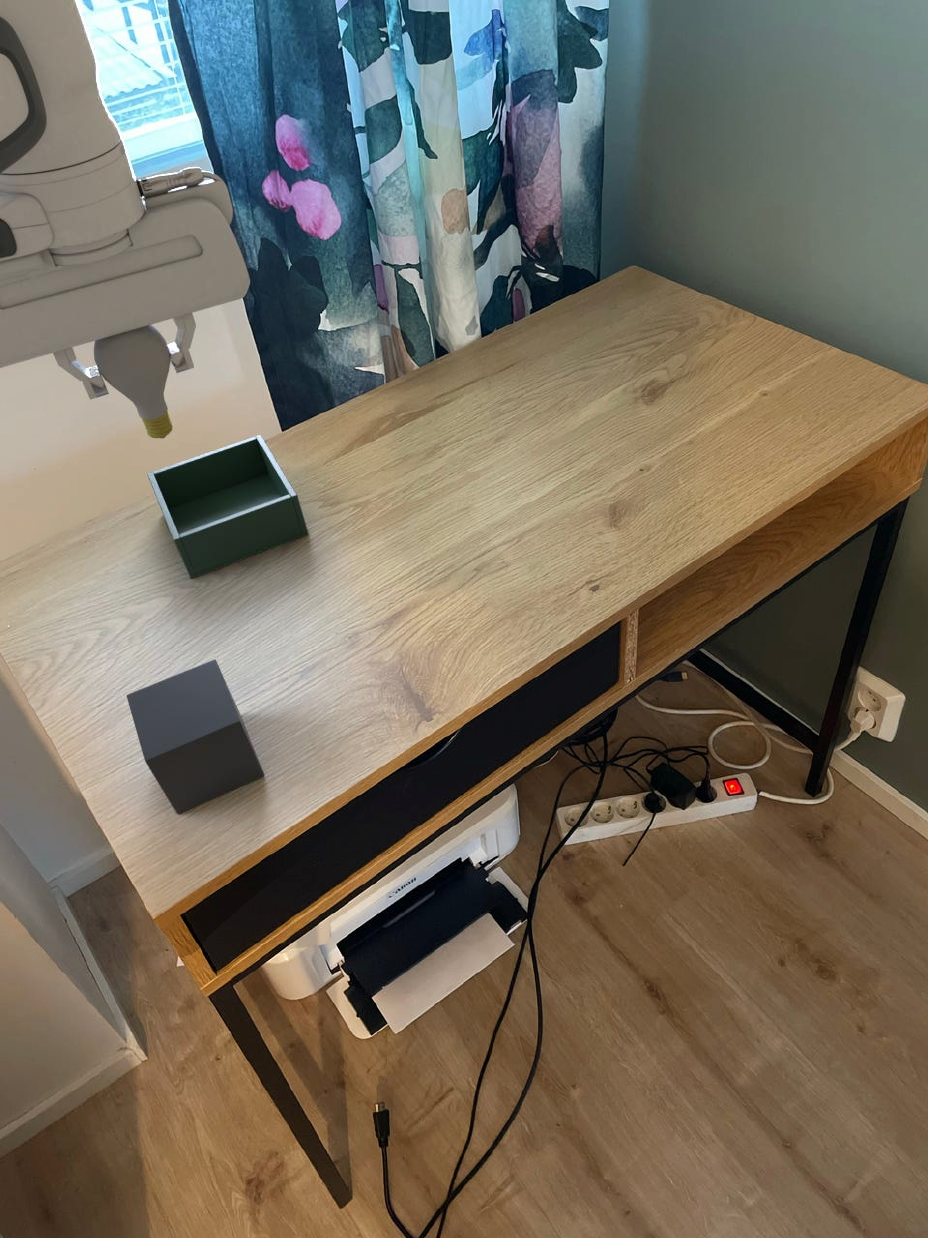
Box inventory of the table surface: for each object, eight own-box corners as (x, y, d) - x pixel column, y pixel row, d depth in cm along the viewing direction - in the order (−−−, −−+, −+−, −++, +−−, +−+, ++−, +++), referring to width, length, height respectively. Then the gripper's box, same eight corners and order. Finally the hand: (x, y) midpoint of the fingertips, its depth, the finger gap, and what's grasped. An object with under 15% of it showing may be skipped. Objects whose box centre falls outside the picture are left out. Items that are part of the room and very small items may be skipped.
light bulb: (205, 418, 75) (167, 304, 68) (181, 456, 71) (138, 339, 64) (145, 417, 76) (101, 304, 69) (118, 454, 72) (69, 339, 65)
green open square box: (190, 579, 87) (173, 540, 83) (163, 511, 95) (146, 473, 91) (308, 534, 90) (297, 494, 86) (272, 472, 98) (260, 434, 94)
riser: (177, 815, 68) (144, 761, 63) (157, 749, 72) (125, 694, 67) (265, 776, 70) (240, 721, 65) (240, 714, 74) (215, 658, 69)
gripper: (208, 148, 65) (256, 327, 75) (-89, 219, 60) (4, 402, 69) (232, 172, 61) (279, 358, 70) (-85, 251, 55) (13, 440, 65)
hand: (141, 380), depth 70 cm, fingers closed on light bulb, 5 cm apart
